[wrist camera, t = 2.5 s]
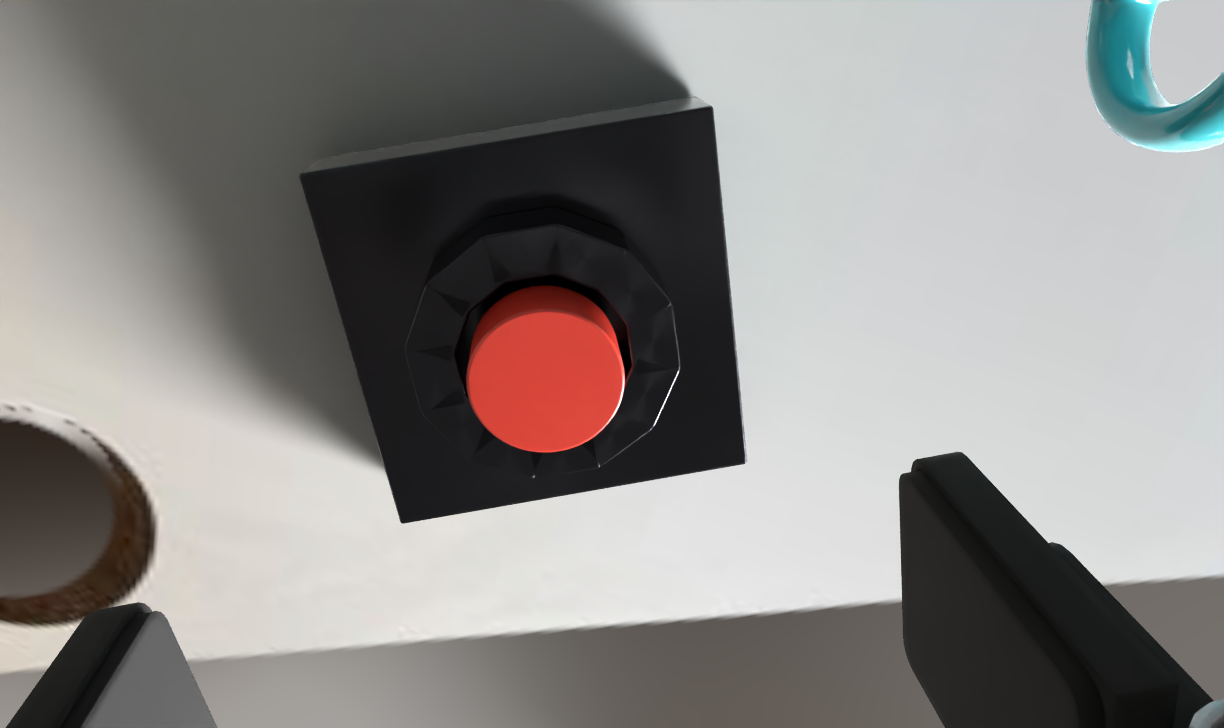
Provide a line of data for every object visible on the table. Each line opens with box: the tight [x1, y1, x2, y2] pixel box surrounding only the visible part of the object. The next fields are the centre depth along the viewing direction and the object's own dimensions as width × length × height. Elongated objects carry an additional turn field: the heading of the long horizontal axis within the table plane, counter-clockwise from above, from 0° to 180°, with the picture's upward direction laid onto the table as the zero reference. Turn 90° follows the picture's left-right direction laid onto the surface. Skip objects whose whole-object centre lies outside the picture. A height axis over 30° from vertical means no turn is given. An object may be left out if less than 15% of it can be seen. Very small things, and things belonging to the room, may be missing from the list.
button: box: [466, 286, 625, 452], centre depth 20 cm, size 4×4×2 cm
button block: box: [299, 96, 747, 523], centre depth 23 cm, size 10×10×4 cm
